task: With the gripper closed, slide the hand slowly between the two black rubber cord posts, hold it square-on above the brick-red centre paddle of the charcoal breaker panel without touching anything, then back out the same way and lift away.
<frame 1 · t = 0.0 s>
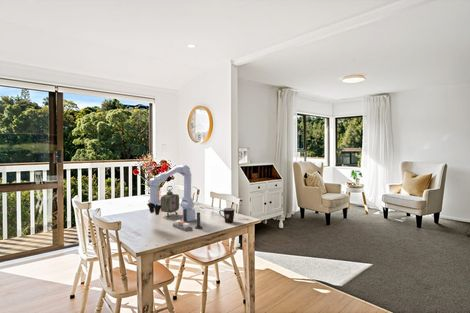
hand: (154, 213, 202), 10 cm above the table, fingers open, 7 cm apart
cord post left: (185, 223, 214), on the table
tabletop clock: (169, 215, 237), on the table
centre paddle: (182, 223, 202), point 3 cm above the table, hinge at 0.0°
coffee mug: (227, 221, 218), on the table
breaker panel: (182, 227, 202), on the table
cord post right: (198, 228, 201), on the table
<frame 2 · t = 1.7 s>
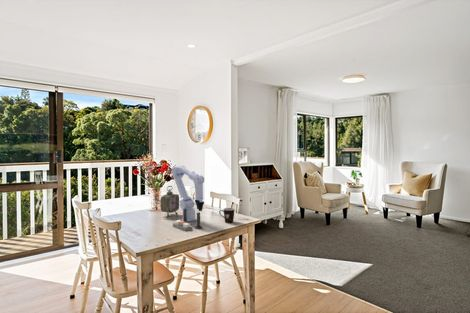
hand: (199, 210, 211), 10 cm above the table, fingers open, 6 cm apart
nothing on the table moved.
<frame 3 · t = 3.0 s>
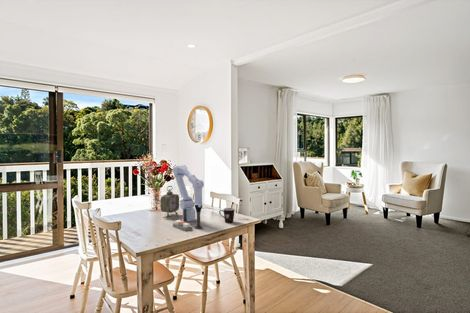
hand: (198, 214, 212), 7 cm above the table, fingers closed
nothing on the table moved.
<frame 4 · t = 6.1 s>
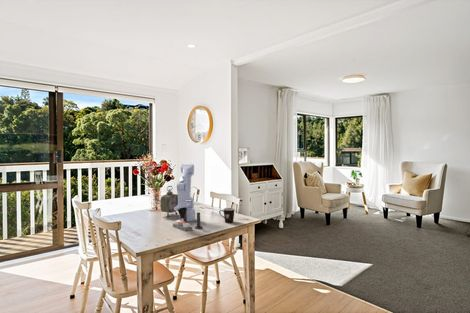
hand: (182, 218, 202), 7 cm above the table, fingers closed
nothing on the table moved.
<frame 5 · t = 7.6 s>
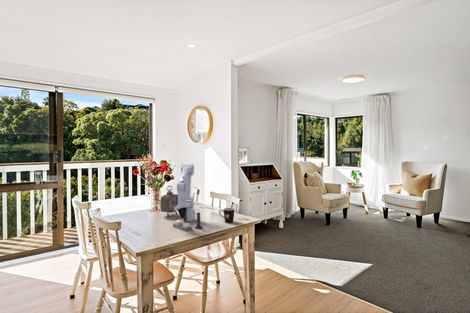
hand: (182, 218, 202), 7 cm above the table, fingers closed
nothing on the table moved.
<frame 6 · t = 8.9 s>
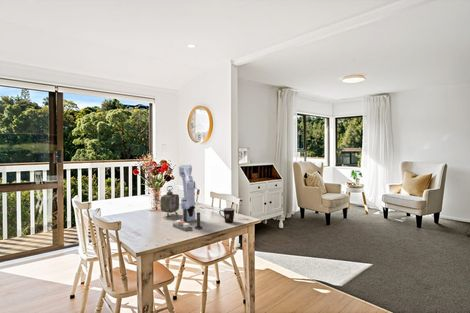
hand: (190, 216, 207), 7 cm above the table, fingers closed
nothing on the table moved.
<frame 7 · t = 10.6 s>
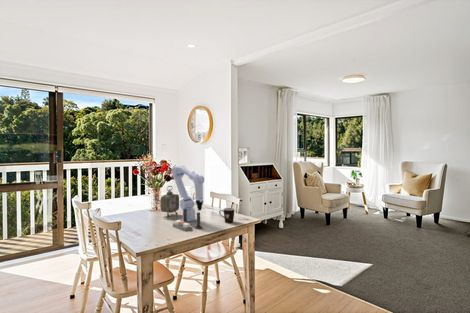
hand: (199, 210, 211), 10 cm above the table, fingers closed
nothing on the table moved.
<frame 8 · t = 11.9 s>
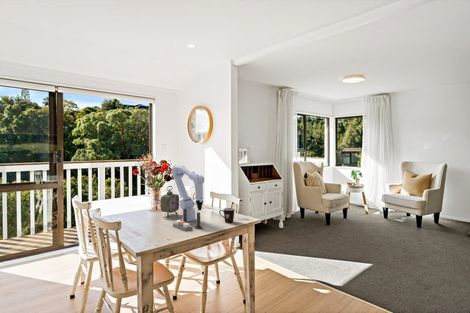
hand: (199, 210, 211), 10 cm above the table, fingers closed
nothing on the table moved.
at the end: cord post left moved 0.0 cm from its start; cord post right moved 0.0 cm from its start; centre paddle at +0° (first picture: +0°) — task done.
